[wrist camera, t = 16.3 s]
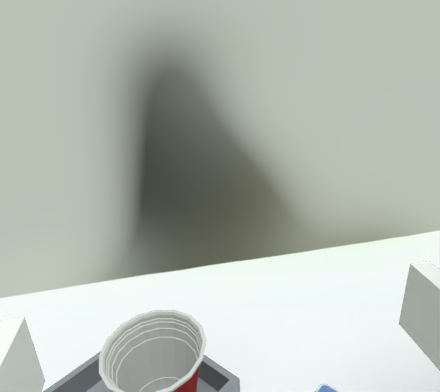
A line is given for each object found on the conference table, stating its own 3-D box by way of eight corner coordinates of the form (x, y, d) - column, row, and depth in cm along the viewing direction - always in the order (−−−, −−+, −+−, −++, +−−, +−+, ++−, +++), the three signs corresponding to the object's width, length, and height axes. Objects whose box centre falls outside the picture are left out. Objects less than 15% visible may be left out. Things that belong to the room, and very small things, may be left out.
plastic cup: (96, 433, 41) (75, 352, 36) (168, 370, 48) (157, 296, 44) (160, 504, 34) (144, 415, 29) (232, 418, 42) (228, 337, 37)
